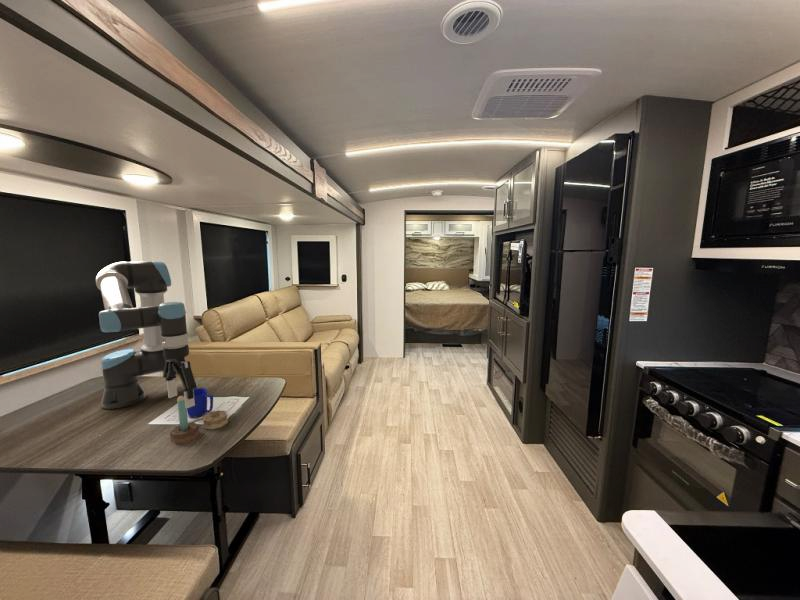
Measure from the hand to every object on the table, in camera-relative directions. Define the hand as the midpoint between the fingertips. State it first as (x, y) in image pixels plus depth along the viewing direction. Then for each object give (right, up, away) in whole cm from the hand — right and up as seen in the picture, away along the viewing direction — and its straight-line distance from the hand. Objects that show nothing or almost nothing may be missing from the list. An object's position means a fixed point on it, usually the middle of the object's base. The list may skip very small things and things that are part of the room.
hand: (181, 401), depth 114 cm
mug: (-4, -12, +18) cm, 22 cm away
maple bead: (+6, -13, +11) cm, 18 cm away
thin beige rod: (-4, -12, +12) cm, 18 cm away
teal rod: (0, -14, +2) cm, 14 cm away
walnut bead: (0, -14, +2) cm, 14 cm away
